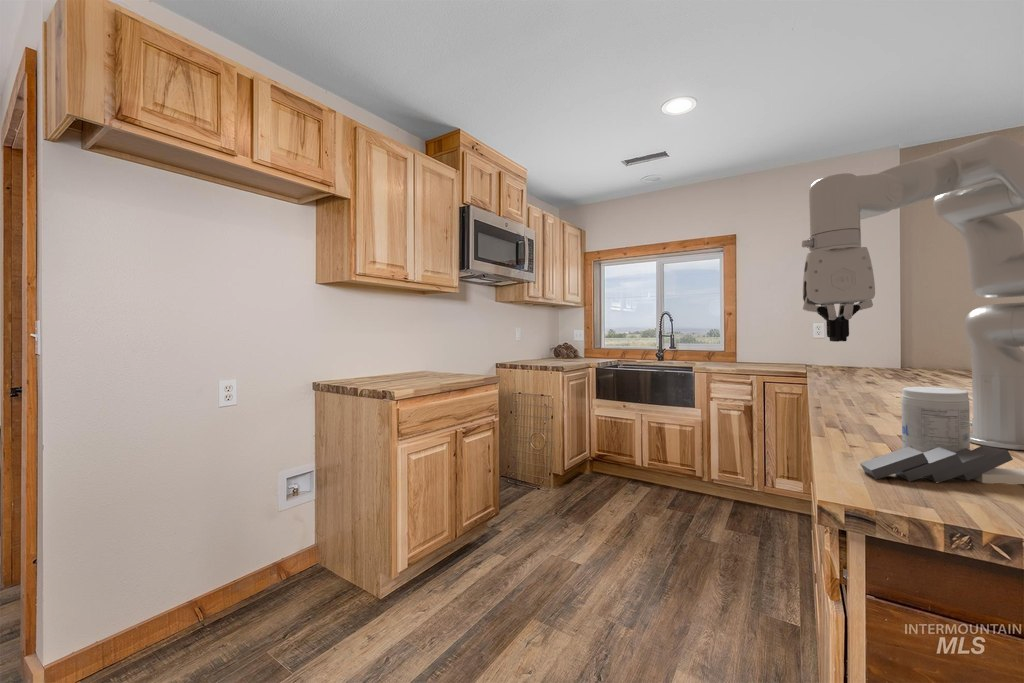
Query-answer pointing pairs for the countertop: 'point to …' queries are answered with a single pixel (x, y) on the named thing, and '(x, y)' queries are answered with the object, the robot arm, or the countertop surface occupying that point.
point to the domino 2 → (932, 464)
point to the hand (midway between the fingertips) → (838, 341)
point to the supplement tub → (935, 418)
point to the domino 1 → (893, 462)
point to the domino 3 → (961, 465)
